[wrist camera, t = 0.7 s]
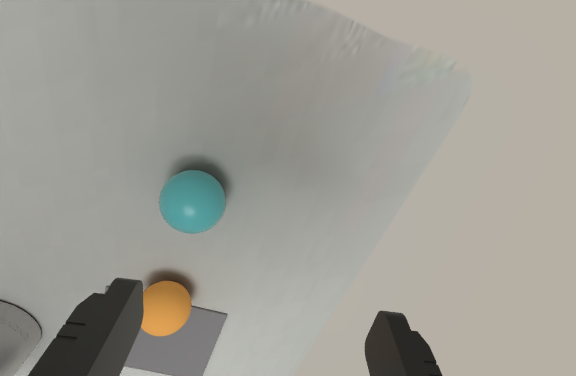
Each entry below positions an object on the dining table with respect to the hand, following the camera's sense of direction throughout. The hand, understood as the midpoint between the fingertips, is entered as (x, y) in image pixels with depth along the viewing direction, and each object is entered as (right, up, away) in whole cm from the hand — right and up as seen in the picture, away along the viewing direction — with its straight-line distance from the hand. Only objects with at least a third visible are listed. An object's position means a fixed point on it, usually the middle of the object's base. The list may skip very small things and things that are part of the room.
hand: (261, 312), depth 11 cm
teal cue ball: (-7, +3, +17) cm, 19 cm away
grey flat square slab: (-15, -15, +29) cm, 36 cm away
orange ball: (-12, -9, +23) cm, 27 cm away
